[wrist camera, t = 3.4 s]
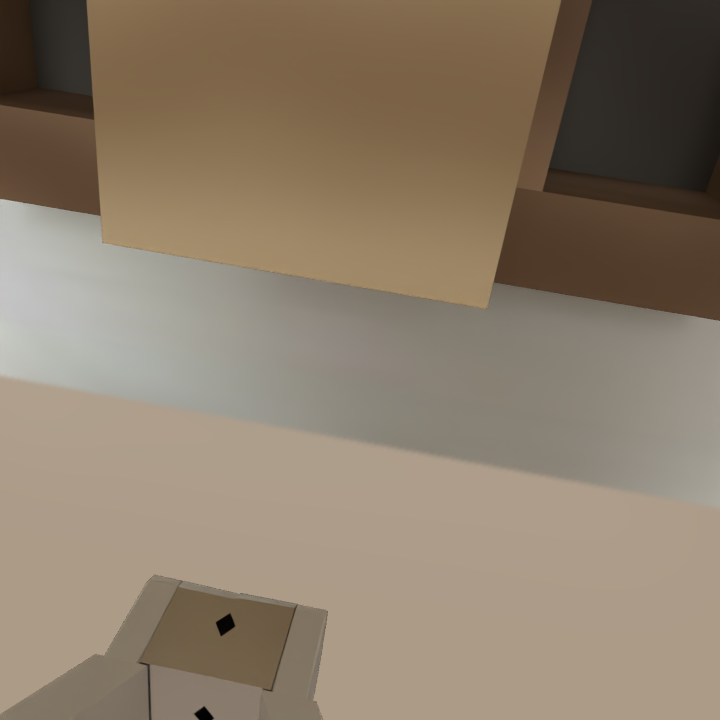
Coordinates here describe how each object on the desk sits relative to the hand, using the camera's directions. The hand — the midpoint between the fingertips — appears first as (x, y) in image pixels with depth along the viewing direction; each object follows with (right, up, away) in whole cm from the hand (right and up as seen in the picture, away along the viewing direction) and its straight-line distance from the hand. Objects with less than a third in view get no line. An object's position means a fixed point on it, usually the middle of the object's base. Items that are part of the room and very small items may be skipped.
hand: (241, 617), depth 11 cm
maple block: (+2, +10, +1) cm, 10 cm away
